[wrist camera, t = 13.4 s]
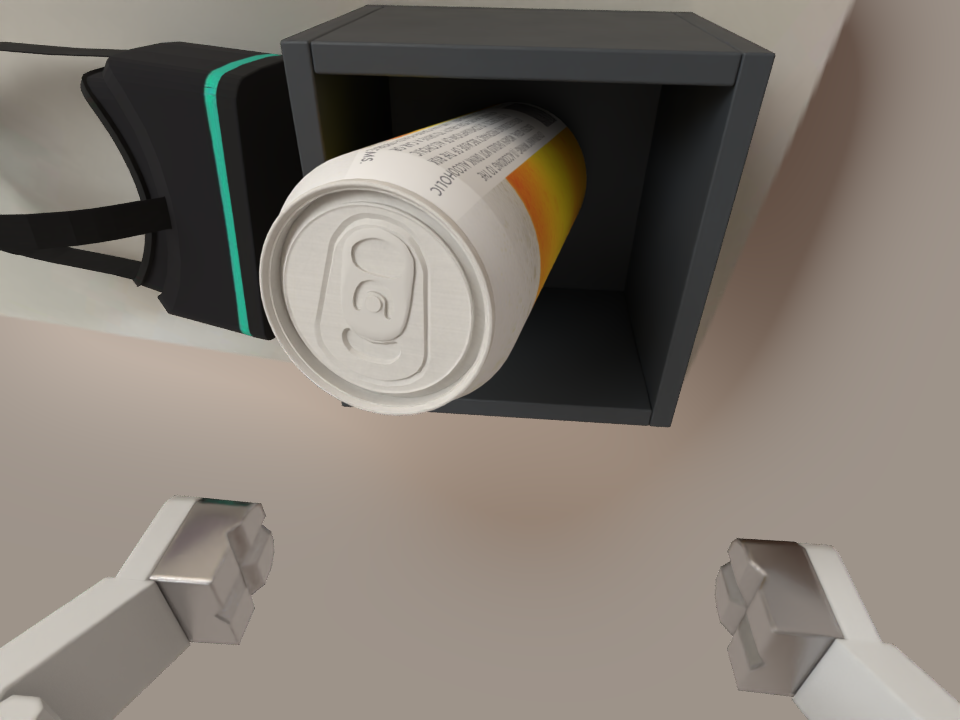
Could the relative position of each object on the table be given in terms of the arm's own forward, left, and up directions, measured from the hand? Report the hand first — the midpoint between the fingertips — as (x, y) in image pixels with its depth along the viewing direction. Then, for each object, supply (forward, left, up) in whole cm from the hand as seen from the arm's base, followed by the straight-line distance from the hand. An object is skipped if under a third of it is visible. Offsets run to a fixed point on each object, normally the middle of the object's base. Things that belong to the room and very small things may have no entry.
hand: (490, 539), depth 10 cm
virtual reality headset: (+18, 0, -20) cm, 27 cm away
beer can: (0, 0, -19) cm, 19 cm away
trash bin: (0, 0, -20) cm, 20 cm away
